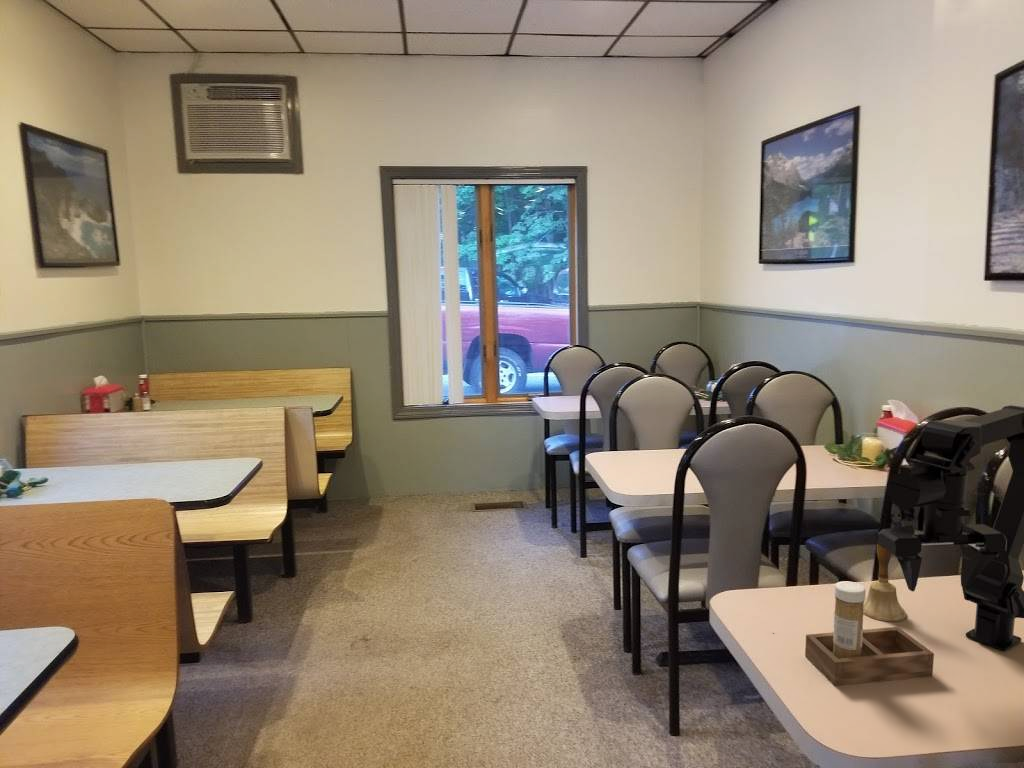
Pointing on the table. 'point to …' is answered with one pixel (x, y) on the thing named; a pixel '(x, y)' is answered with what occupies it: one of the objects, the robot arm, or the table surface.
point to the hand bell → (883, 594)
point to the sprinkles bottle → (848, 619)
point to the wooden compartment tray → (871, 657)
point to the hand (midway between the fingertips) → (937, 588)
